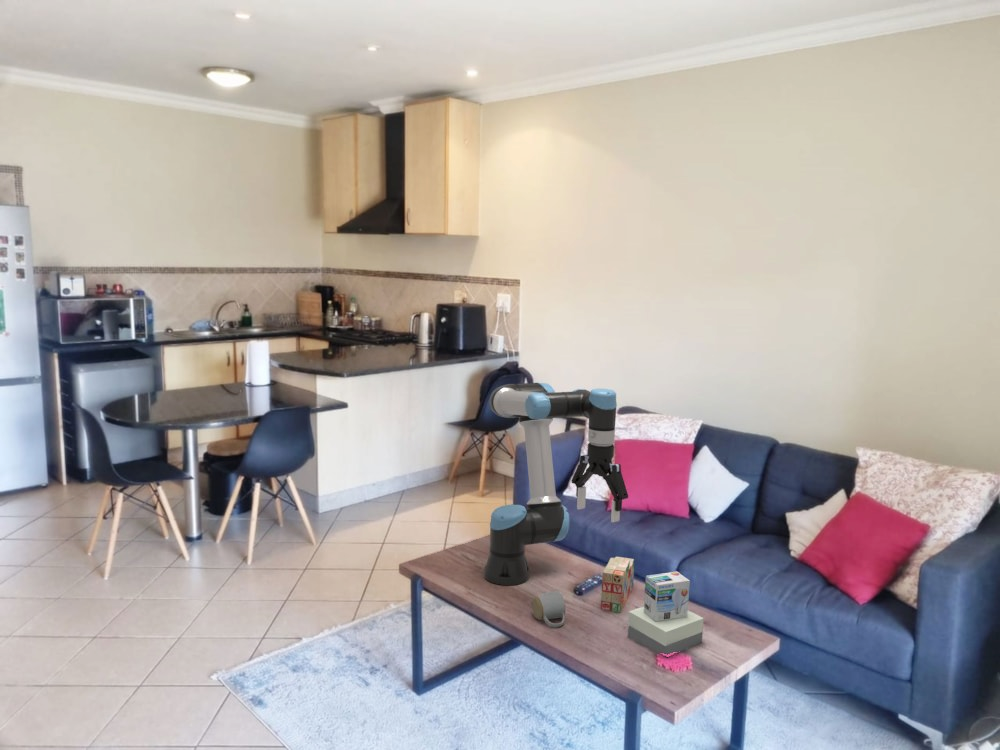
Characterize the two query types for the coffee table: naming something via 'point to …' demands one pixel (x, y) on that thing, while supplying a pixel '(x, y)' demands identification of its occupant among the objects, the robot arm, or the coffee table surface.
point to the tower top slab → (666, 626)
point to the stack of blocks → (617, 583)
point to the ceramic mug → (549, 607)
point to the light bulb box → (666, 596)
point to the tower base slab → (658, 646)
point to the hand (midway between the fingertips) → (597, 514)
